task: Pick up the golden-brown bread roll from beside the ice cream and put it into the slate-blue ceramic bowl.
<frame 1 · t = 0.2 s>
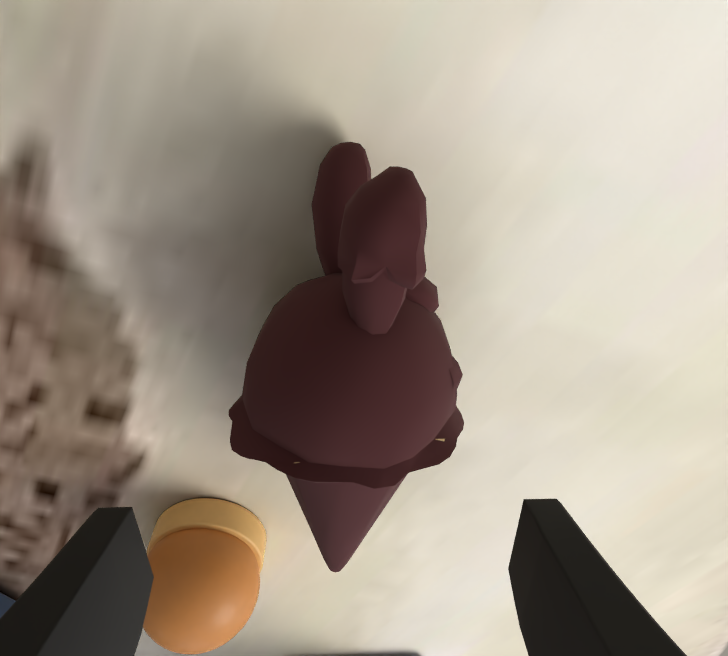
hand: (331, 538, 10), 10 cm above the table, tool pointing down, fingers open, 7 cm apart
icecream: (351, 337, 20), on the table
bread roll: (211, 534, 25), on the table
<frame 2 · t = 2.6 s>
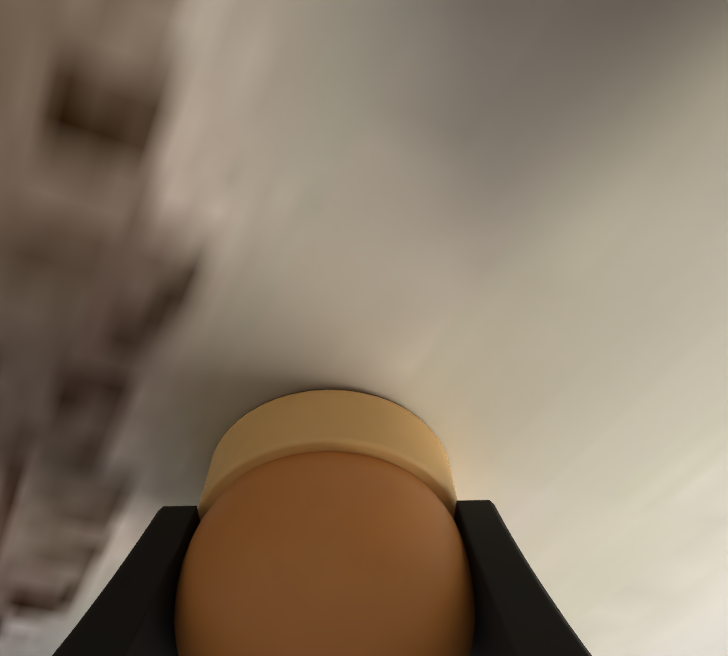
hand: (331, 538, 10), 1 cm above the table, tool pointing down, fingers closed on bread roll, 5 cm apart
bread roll: (331, 482, 12), on the table, touching gripper
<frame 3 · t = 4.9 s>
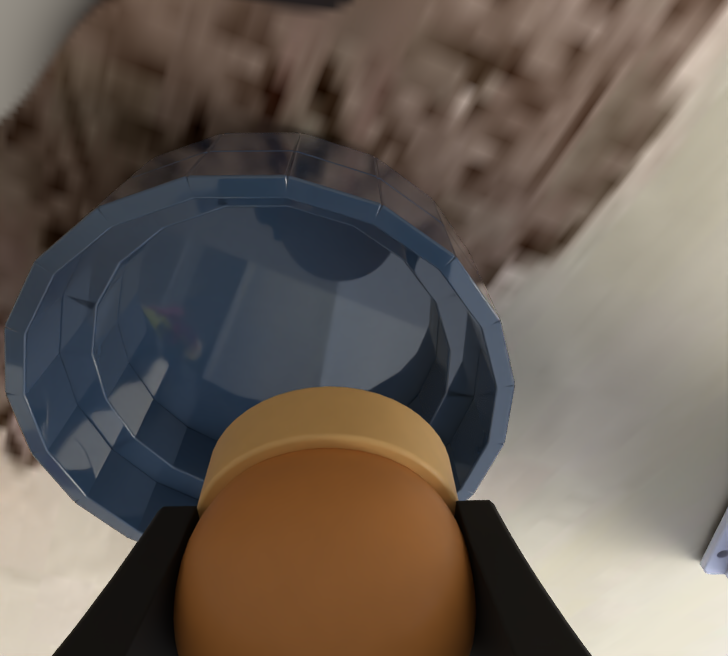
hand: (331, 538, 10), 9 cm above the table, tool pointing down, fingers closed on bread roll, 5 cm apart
bowl: (282, 330, 19), on the table
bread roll: (331, 479, 12), point 8 cm above the table, touching gripper
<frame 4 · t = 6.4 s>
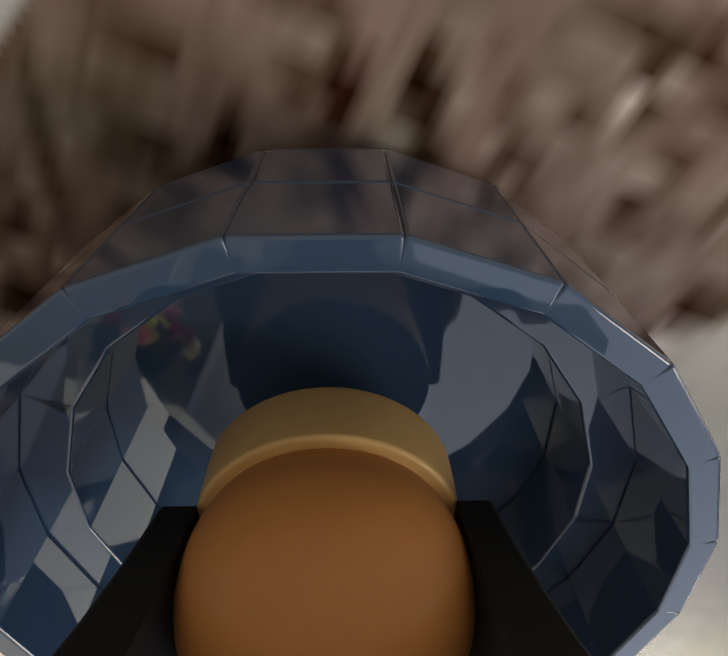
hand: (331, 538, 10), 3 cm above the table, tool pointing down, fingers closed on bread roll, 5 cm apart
bowl: (335, 416, 13), on the table
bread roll: (330, 479, 12), point 2 cm above the table, touching gripper
when the fingers open (2 cm above the table, at t = 7.5 s): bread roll stays where it is, resting on bowl.
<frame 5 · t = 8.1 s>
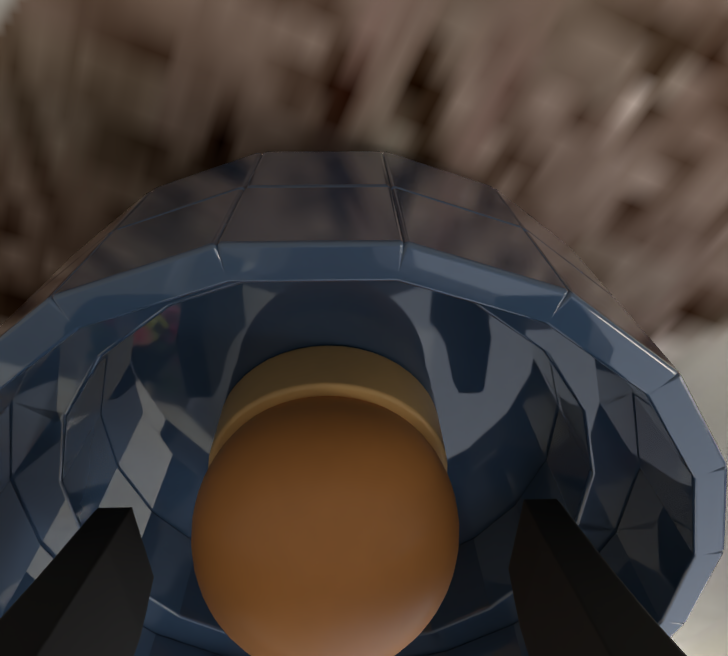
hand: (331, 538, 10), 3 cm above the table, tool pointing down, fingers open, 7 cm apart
bowl: (333, 422, 13), on the table
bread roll: (330, 434, 13), resting on bowl
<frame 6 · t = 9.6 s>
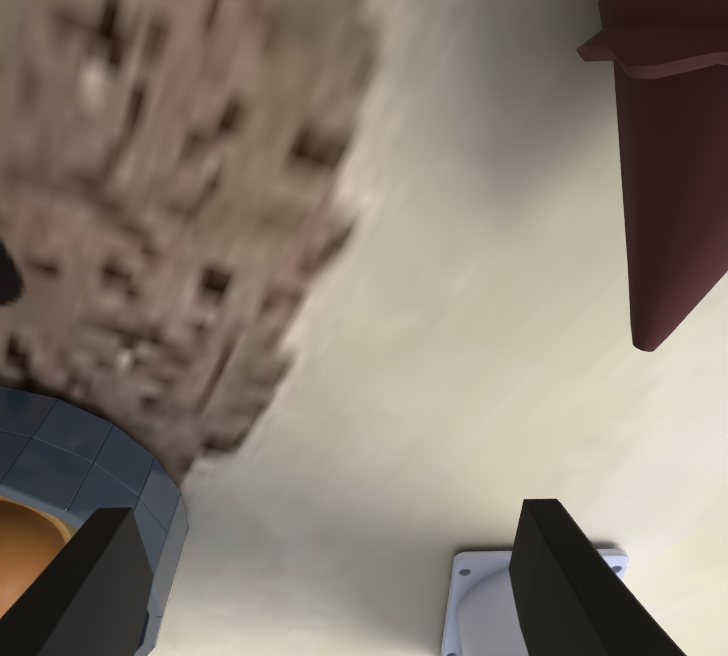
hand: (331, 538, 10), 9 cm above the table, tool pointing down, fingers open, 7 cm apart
icecream: (674, 25, 15), on the table
bowl: (31, 502, 23), on the table
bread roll: (23, 510, 23), resting on bowl
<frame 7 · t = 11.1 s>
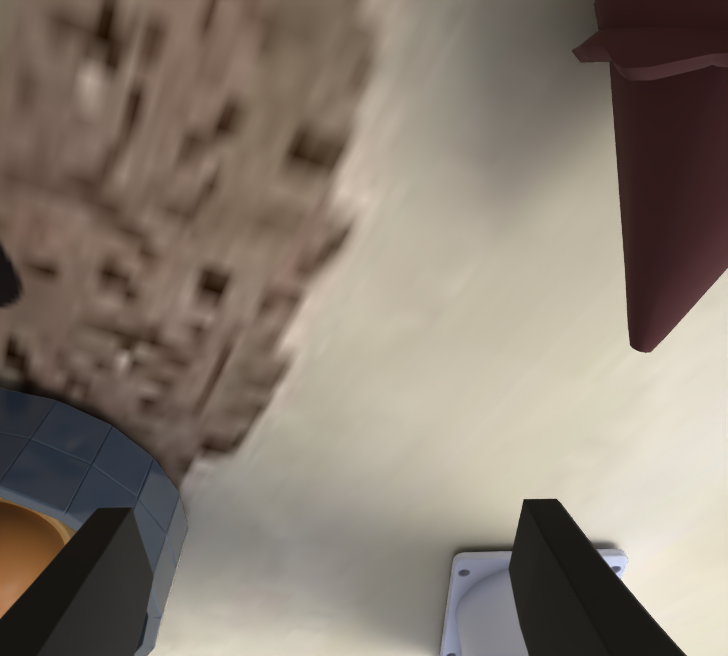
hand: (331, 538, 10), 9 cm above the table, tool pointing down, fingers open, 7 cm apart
icecream: (671, 26, 15), on the table
bowl: (30, 503, 23), on the table
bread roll: (22, 511, 23), resting on bowl
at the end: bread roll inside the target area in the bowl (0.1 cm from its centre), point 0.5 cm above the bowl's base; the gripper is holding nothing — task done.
